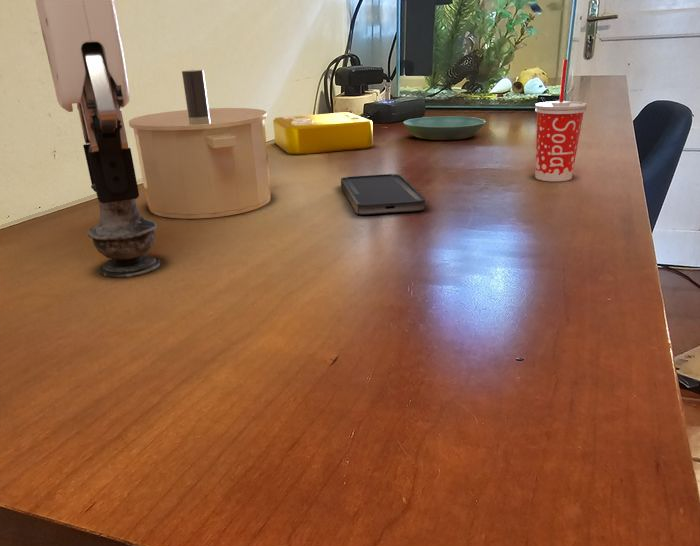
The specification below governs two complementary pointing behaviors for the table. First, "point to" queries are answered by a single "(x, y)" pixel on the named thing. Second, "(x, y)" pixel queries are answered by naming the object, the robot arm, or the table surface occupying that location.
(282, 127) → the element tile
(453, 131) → the saucer
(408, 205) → the phone
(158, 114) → the pot lid
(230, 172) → the pot
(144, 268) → the salt shaker
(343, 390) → the table surface
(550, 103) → the beverage cup
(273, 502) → the table surface
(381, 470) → the table surface
